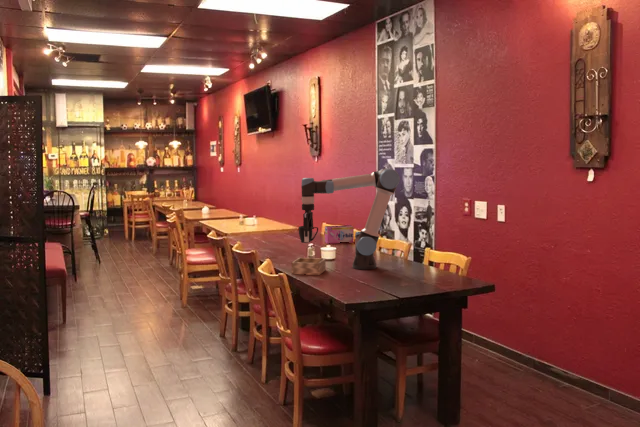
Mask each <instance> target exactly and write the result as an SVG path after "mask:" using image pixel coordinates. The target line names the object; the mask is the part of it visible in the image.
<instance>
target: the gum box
mask: <svg viewBox="0 0 640 427" xmlns="http://www.w3.org/2000/svg"><path fill="white" fill-rule="evenodd" d="M354 228H355V227H354V225H351V224H346V225H344V224H343V225H325V226H324V243H326V244H329V243H330V244H341V243H340V242H349V243H348V244H351V243H354V242H355V241H354V237H355V236H354V230H355V229H354Z"/></svg>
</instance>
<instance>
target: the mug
mask: <svg viewBox="0 0 640 427" xmlns="http://www.w3.org/2000/svg"><path fill="white" fill-rule="evenodd" d="M314 229H316V232H315V233H314V236H313V230H314ZM308 231H309V242H304V231H303V225H301V226H298V235H299V239H300V242H301V243H302V244H309V243H311V242H312V241H314V239H315V238H316V236H317V234H318V232H319V227H318V226H317V227H316V226H313V228H312V226H309V228H308ZM312 236H313V238H312V239H311V237H312Z"/></svg>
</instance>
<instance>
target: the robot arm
mask: <svg viewBox="0 0 640 427" xmlns="http://www.w3.org/2000/svg"><path fill="white" fill-rule="evenodd" d="M400 180H401V177H400V174H399V173H398V171H396V170H395V169H394V168H383V169H381V170H377V171H376V170H375V171H373V172H371V173H367V174H360V175H353V176H352V175H351V176H345V177H344V176H343V177H339V178H338V177H337V178H331V179H321V180H315V179H314V177H303V178H301V198H300V200H301V203H302V204H301V210H302V211H304V213H303V215H302V216H303V223H302V224H303V225H302V226H303V231H304V242H309V231H308V228H309V226H312V228H313V227H314V217H313V216H314V212H313V211H314V210H315V194H325V195H326V194H328V195H329V194H333V193H335V192H336V191H337V192H338V191H343V190H351V189H358V188H366V187H374V188H375V190H376V194H375V197H374V199H373V203H372V205H371V208H370V211H369V214H368V217H367V220H366V222H365V226H364V228H363V229H360V231H356V232H355V236H354V237H355V241H354V242H355V246H354V247H355V248H354V249H355V250H354V251H355V252H354V253H355V256H354V258H353V261H352V268H353V269H355V270H375V269H376V268H377V261H376V258H375V252H376V250H377V247H378V246H377V245H378V241H379V238H380V235H379V230H380V228H381V225H382V222H383V219H384V216H385V213H386V211H387V208H388V204H389V202H390V199H391V196H392V195H394V194H395V192H396V189H397V186H398V185H399V183H400ZM313 237H314V236H313V235H312V237H311V239H312V238H313ZM309 243H310V242H309Z"/></svg>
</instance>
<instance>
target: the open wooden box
mask: <svg viewBox="0 0 640 427" xmlns="http://www.w3.org/2000/svg"><path fill="white" fill-rule="evenodd" d="M326 268H327V267H326V258H318V257H317V258H316V257H315V258H314V257H298V258H296V259H295V260H293V261H292V262H291V275H304V274H306V276H307V275H309V276H320V275H321V274H322V273H324V272H325V271H326Z"/></svg>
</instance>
